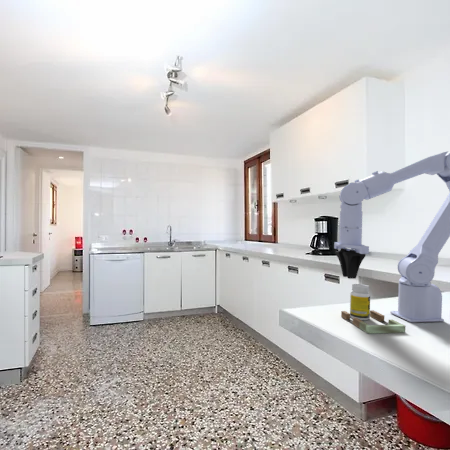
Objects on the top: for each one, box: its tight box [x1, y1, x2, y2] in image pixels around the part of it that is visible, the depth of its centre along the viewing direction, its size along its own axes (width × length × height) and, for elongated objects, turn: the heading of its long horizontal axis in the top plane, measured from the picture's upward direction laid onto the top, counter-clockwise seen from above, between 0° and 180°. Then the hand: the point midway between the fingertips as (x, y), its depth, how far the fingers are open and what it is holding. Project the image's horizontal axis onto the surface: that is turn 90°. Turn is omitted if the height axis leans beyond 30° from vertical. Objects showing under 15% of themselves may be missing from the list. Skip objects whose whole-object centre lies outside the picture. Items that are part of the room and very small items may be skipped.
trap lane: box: [340, 309, 406, 335], centre depth 77 cm, size 9×12×2 cm
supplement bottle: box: [349, 283, 371, 321], centre depth 81 cm, size 5×5×8 cm
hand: (349, 277), depth 87 cm, fingers closed
